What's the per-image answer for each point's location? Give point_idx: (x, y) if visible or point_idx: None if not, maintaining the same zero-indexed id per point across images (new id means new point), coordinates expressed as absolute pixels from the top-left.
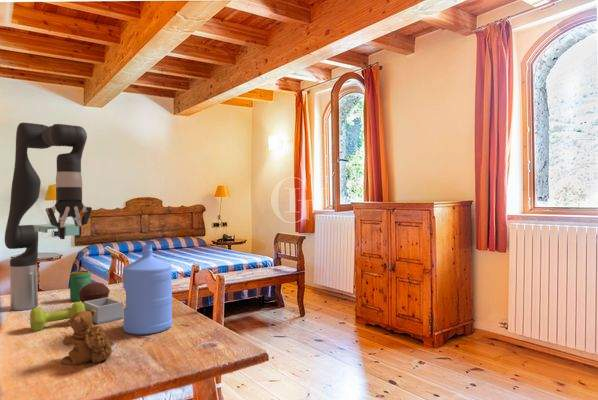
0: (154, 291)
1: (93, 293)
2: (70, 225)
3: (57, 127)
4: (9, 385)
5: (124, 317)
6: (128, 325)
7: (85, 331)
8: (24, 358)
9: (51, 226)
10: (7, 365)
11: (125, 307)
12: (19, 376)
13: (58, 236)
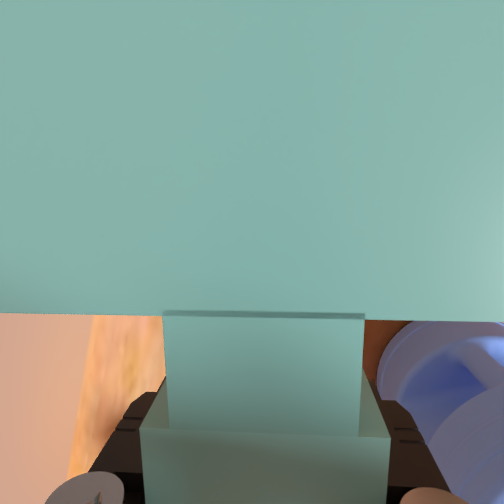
0: None
1: None
2: (387, 315)
3: None
4: (74, 468)
5: (390, 383)
6: (382, 396)
7: None
8: (125, 348)
9: (6, 292)
10: (89, 363)
11: (421, 367)
12: (95, 442)
13: (139, 403)
